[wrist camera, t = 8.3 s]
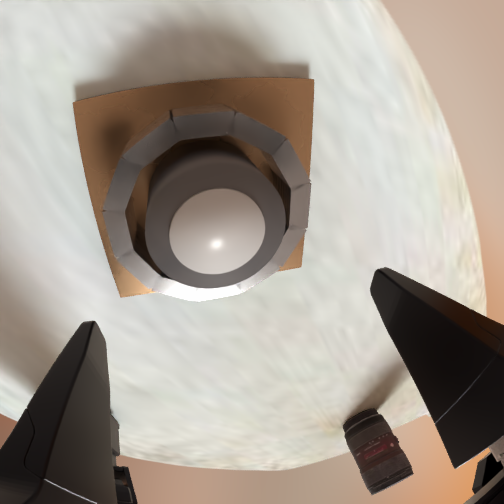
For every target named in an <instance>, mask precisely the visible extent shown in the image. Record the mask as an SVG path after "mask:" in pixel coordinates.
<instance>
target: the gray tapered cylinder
mask: <svg viewBox="0 0 504 504" xmlns="http://www.w3.org/2000/svg"><path fill="white" fill-rule="evenodd" d="M285 225H286V215H285V209H284V205H283V202H282V199H281V197H280V195H279V193H278V192H277V190H276V189H275V187H274V186H273V185H272V184H271V182H270V181H269V180H268V179H267V178H266V177H265V176H264V175H263V173H262V172H261V171H260V170H259V169H258V168H257V167H256V166H255V164H254V163H253V162H252V161H251V160H250V159H249V158H248V157H247V156H246V155H245V154H244V153H243V152H242V151H240V150H239V149H238V148H236V147H234V146H232V145H230V144H227V143H225V142H221V141H215V140H200V141H195V142H191V143H188V144H185V145H183V146H180V147H178V148H177V149H175V150H174V151H172V152H171V153H169V154H168V155H167V156H166V157H165V158H164V159H163V160H162V161H161V162H160V164H159V165H158V166H157V168H156V169H155V171H154V173H153V175H152V178H151V181H150V185H149V191H148V200H147V211H146V223H145V238H146V245H147V248H148V251H149V253H150V255H151V257H152V259H153V261H154V262H155V264H156V265H157V266H158V267H159V269H160V270H161V271H162V272H163V273H165V274H166V275H167V276H168V277H170V278H172V279H173V280H175V281H177V282H179V283H181V284H184V285H187V286H191V287H195V288H204V289H214V288H222V287H227V286H231V285H234V284H237V283H239V282H242V281H244V280H246V279H248V278H250V277H251V276H253V275H254V274H256V273H257V272H259V271H260V270H261V269H262V268H263V267H264V266H266V264H267V263H268V262H269V261H270V260H271V259H272V257H273V256H274V255H275V253H276V252H277V250H278V248H279V246H280V244H281V242H282V239H283V236H284V232H285Z"/></svg>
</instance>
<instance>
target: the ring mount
mask: <svg viewBox="0 0 504 504" xmlns="http://www.w3.org/2000/svg"><path fill="white" fill-rule="evenodd" d="M313 102H314V79H305V78H270V77H260V78H225V79H209V80H197V81H186V82H177V83H169V84H161V85H154V86H147V87H141V88H135V89H130V90H124V91H119V92H114V93H109V94H105V95H100V96H96V97H91V98H87V99H83V100H79V101H76V102H73V108H74V115H75V122H76V129H77V135H78V141H79V147H80V152H81V157H82V162H83V167H84V172H85V177H86V181H87V186H88V190H89V194H90V198H91V202H92V206H93V210H94V214H95V218H96V222H97V225H98V229H99V232H100V236H101V239H102V243H103V246H104V249H105V252H106V256H107V259H108V262H109V265H110V268H111V271H112V274H113V277H114V280H115V283H116V286H117V289H118V291H119V294H120V297H128V296H134V295H141V294H147V293H153V292H158V293H162V294H166V295H170V296H174V297H178V298H182V299H186V300H190V301H195V299H196V300H197V301H203V300H209V299H215V298H220V297H226V296H232V295H237V294H241V292H240V290H241V291H242V292H243V293H244V292H245V291H247V290H248V289H250V288H252V287H253V286H255V285H256V284H258V283H259V282H261V281H263V280H264V279H266V278H267V277H269V276H270V275H272V274H274V273H275V272H277V271H283V270H288V269H294V268H299V267H301V265H302V255H303V246H304V235H305V232H306V229H305V228H307V227H308V216H309V205H310V193H311V183H310V179H309V175H310V160H311V144H312V125H313ZM200 140H215V141H221V142H225V143H227V144H230V145H232V146H234V147H236V148H238V149H239V150H240V151H242V152H243V153H244V154H245V155H246V156H247V157H248V158H249V159H250V160H251V161H252V162H253V163H254V164H255V166H256V167H257V168H258V169H259V170H260V171H261V172H262V173H263V175H264V176H265V177H266V178H267V179H268V180H269V181H270V182H271V184H272V185H273V186H274V187H275V189H276V190H277V192H278V193H279V195H280V197H281V199H282V202H283V205H284V209H285V215H286V225H285V232H284V236H283V239H282V242H281V244H280V246H279V248H278V250H277V252H276V253H275V255H274V256H273V257H272V259H271V260H270V261H269V262H268V263H267V264H266V266H264V267H263V268H262V269H261V270H260V271H259V272H257V273H256V274H254V275H253V276H251V277H250V278H248V279H246V280H244V281H242V282H239V283H237V284H234V285H231V286H227V287H222V288H214V289H204V288H195V287H191V286H187V285H184V284H181V283H179V282H177V281H175V280H173V279H172V278H170V277H168V276H167V275H166V274H165V273H163V272H162V271H161V270H160V269H159V267H158V266H157V265H156V264H155V262H154V261H153V259H152V257H151V255H150V253H149V251H148V248H147V245H146V238H145V223H146V211H147V200H148V191H149V185H150V181H151V178H152V175H153V173H154V171H155V169H156V168H157V166H158V165H159V164H160V162H161V161H162V160H163V159H164V158H165V157H166V156H167V155H168V154H169V153H171V152H172V151H174V150H175V149H177V148H178V147H180V146H183V145H185V144H188V143H191V142H195V141H200Z"/></svg>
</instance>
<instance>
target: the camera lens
mask: <svg viewBox="0 0 504 504" xmlns="http://www.w3.org/2000/svg"><path fill="white" fill-rule="evenodd" d="M343 429H344V432H345V439H346V442H347V445H348V447H349V449H350V451H351V453H352V455H353V456H354V459H355V461H356V463H357V465H358V467H359V469H360V473H361V476H362V478H363V480H364V483H365V485H366V487H367V489H368V490H369V491H370V493H371V494H372V495H374V494H376V493H378V492H380V491H382V490H385V489H387V488H389V487H391V486H393V485H395V484H397V483H399V482H401V481H402V480H404V479H406V478H408V477H409V476H411V475H413V471H412V468H411V467H412V466H411V465H410V462H409V461H408V459H407V457H406V455H405V453H404V452H403V450H402V449H401V448H400V446H399V444H398V443H399V441H398V438H397V437H396V436H394V435H393V433H392V430H391V428H390V426H389V425H388V423H387V422H386V420H385V419H384V418H383V416H382V415H380V414H378V412H377V411H376V409H369V410H366V411H364V412H362V413H360V414H358V415H356V416H354V417H353V418H351V419H350V420H349V421H347V422H346V423H345V424H344V426H343Z"/></svg>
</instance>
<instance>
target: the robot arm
mask: <svg viewBox="0 0 504 504" xmlns="http://www.w3.org/2000/svg"><path fill="white" fill-rule="evenodd" d="M370 292H371V296H372V298H373V300H374V302H375V304H376V307H377V309H378V311H379V313H380V316H381V318H382V320H383V323H384V325H385V327H386V329H387V331H388V333H389V335H390V337H391V339H392V340H393V342H394V344H395V346H396V348H397V350H398V352H399V353H400V355H401V357H402V359H403V361H404V363H405V365H406V367H407V369H408V370H409V372H410V374H411V376H412V378H413V380H414V382H415V384H416V386H417V388H418V390H419V392H420V394H421V396H422V398H423V400H424V402H425V404H426V406H427V408H428V411H429V413H430V415H431V417H432V419H433V421H434V423H435V426H436V428H437V430H438V432H439V434H440V436H441V439H442V441H443V443H444V446H445V448H446V450H447V453H448V455H449V458H450V460H451V462H452V465H453V467H454V468H455V469H456V468H458V467H459V466H461V465H463V464H464V463H466V462H467V461H469V460H470V459H472V458H474V457H475V456H477V455H478V454H479V453H481V452H482V451H484V450H485V449H487V448H488V447H489V449H490V451H491V452H489V453H488V454H487V455H486V456H485V457H484V458H483V459H482V460H480V461H479V462H478V465H477V470H476V475H475V479H474V484H473V488H472V490H473V492H474V494H475V495H473V496H472V497H471V498H470V499H469V500H467V501H466V502H465V503H464V504H504V325H502V324H500V323H498V322H496V321H494V320H491V319H489V318H487V317H485V316H483V315H481V314H479V313H477V312H476V311H474V310H472V309H469V308H468V307H466V306H464V305H462V304H460V303H458V302H456V301H454V300H452V299H450V298H448V297H446V296H444V295H442V294H441V293H439V292H437V291H435V290H433V289H431V288H429V287H426V286H424V285H422V284H420V283H418V282H416V281H414V280H412V279H410V278H408V277H406V276H404V275H402V274H400V273H398V272H396V271H394V270H392V269H389V268H387V267H384V268H380V269H377V270H376V271H375V273H374V276H373V280H372V283H371V287H370ZM118 429H119V424H118V423H117V421H116V420H115V419H114V418H113V417H112V416H111V414H110V384H109V374H108V363H107V349H106V341H105V338H104V336H103V334H102V332H101V330H100V328H99V326H98V324H97V323H96V322H95V321H86V322H83V323H82V324H81V325H80V326H79V328H78V329H77V330H76V332H75V333H74V335H73V336H72V337H71V339H70V340H69V342H68V343H67V345H66V346H65V348H64V349H63V351H62V352H61V354H60V355H59V356H58V358H57V359H56V361H55V362H54V364H53V366H52V367H51V369H50V370H49V372H48V373H47V375H46V376H45V378H44V379H43V381H42V383H41V384H40V386H39V387H38V389H37V391H36V392H35V394H34V396H33V397H32V399H31V401H30V402H29V404H28V406H27V408H26V409H25V410H24V412H23V414H22V416H21V417H20V419H19V421H18V422H17V424H16V426H15V428H14V429H13V431H12V432H11V434H10V435H9V437H8V438H7V440H6V441H5V443H4V445H3V446H2V448H1V449H0V504H137V499H136V495H135V492H134V489H133V484H132V481H131V477H130V473H129V469H128V467H125V466H122V467H119V466H116V456H119V455H120V447H119V431H118Z"/></svg>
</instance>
